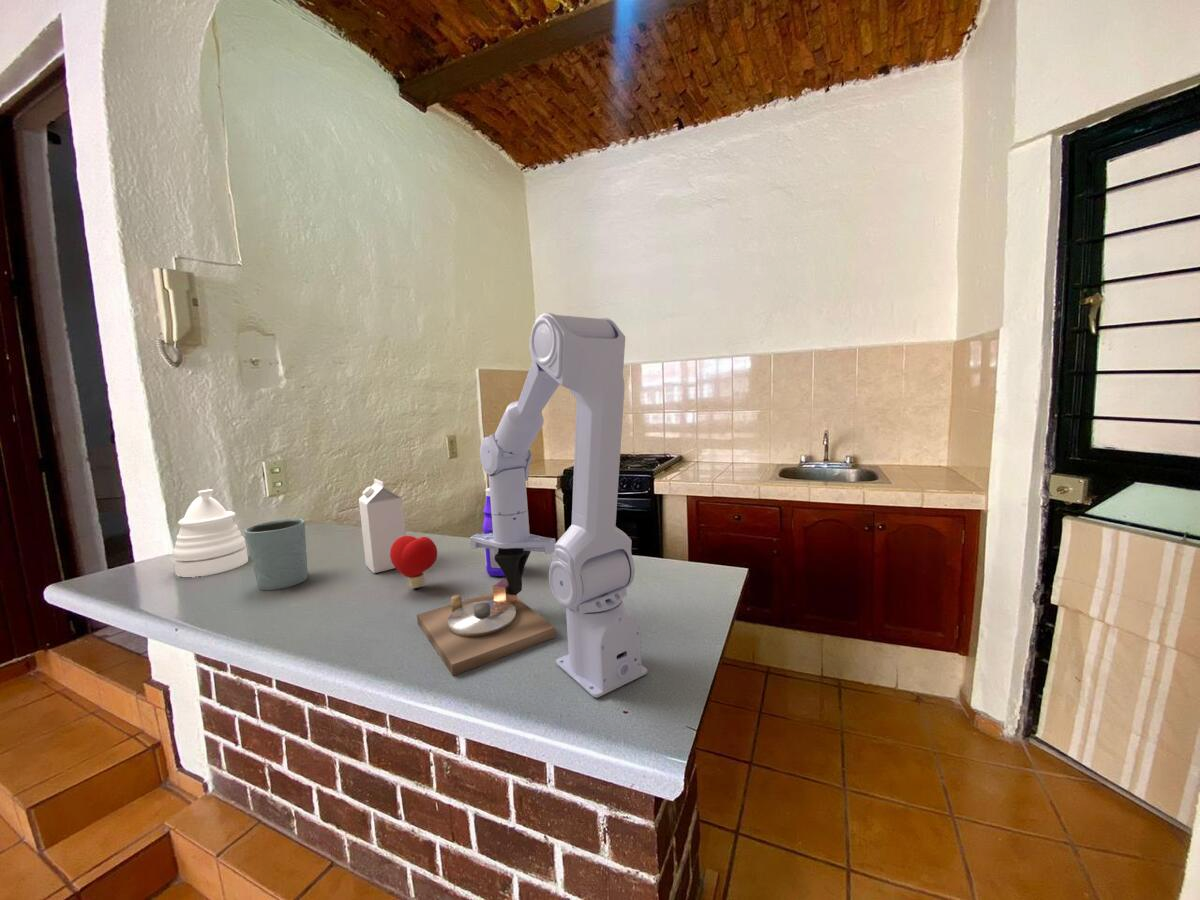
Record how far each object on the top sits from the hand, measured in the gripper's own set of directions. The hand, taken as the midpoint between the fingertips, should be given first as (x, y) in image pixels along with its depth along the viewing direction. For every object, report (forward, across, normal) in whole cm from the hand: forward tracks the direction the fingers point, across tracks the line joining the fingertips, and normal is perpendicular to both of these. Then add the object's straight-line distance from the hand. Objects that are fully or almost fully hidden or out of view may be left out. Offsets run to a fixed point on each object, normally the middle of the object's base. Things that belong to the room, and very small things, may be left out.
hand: (515, 592), depth 76 cm
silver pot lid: (+2, +2, +5) cm, 6 cm away
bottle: (+4, +12, -16) cm, 20 cm away
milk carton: (+3, +40, -13) cm, 42 cm away
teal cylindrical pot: (+3, +55, -1) cm, 55 cm away
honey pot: (+3, +81, -4) cm, 81 cm away
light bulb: (+4, +24, -4) cm, 25 cm away
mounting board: (+3, +2, +6) cm, 8 cm away
